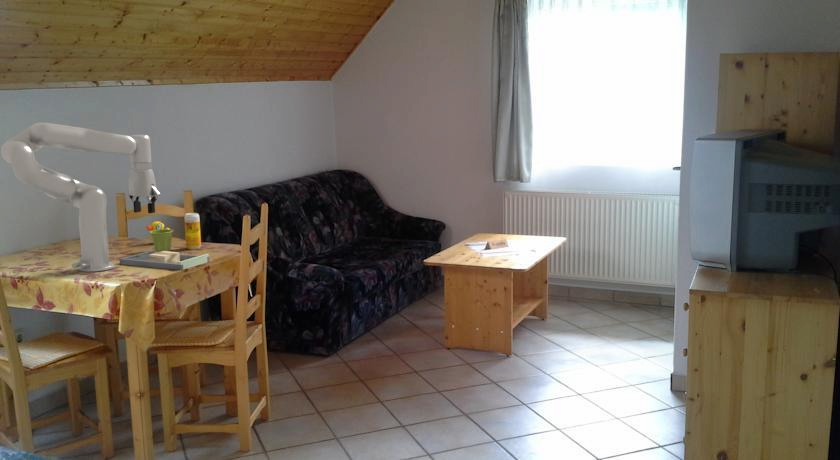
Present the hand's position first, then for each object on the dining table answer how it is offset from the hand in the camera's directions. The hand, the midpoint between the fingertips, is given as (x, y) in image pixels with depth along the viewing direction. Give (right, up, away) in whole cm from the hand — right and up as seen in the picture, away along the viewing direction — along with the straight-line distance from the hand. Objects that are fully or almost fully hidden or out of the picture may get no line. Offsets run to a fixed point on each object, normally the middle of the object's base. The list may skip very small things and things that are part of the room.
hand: (144, 212), depth 300 cm
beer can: (+11, -15, +29) cm, 34 cm away
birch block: (+8, -20, 0) cm, 22 cm away
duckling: (-8, -13, +41) cm, 44 cm away
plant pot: (-1, -16, +23) cm, 28 cm away
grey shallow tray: (+8, -20, 0) cm, 21 cm away
